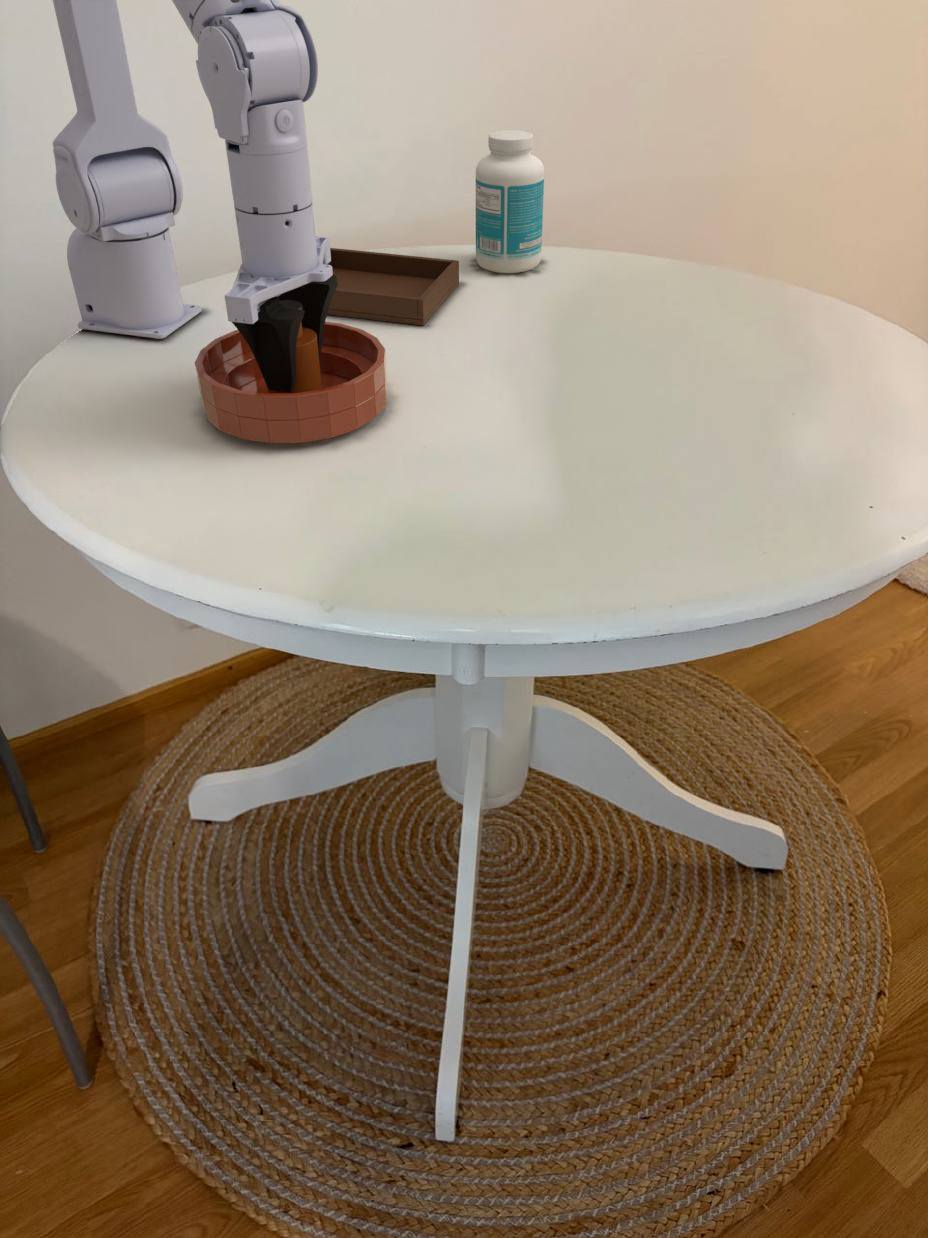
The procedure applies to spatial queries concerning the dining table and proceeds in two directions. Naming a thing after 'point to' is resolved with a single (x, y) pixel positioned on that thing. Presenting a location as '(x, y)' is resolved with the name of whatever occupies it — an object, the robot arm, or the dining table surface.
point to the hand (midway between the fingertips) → (293, 377)
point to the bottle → (305, 357)
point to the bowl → (254, 414)
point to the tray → (390, 285)
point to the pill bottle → (509, 204)
